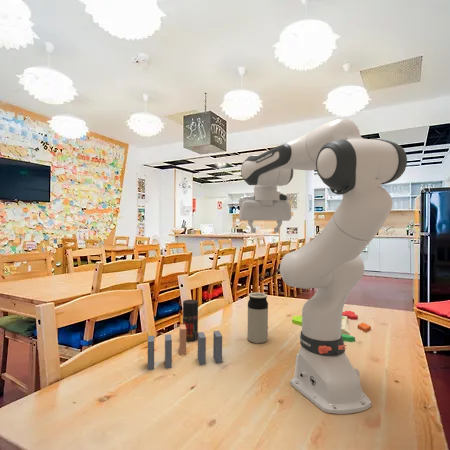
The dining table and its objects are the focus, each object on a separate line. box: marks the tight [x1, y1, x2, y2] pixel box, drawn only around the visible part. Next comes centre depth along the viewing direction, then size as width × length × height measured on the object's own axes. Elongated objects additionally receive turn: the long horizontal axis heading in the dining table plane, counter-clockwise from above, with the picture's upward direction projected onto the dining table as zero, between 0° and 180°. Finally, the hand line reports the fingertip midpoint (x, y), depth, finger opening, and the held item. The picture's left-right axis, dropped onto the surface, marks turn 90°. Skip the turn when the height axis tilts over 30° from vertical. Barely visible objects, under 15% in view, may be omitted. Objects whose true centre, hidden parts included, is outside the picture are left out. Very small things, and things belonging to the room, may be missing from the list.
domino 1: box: [147, 335, 155, 371], centre depth 100 cm, size 2×5×9 cm, turn 13°
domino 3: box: [178, 323, 187, 356], centre depth 111 cm, size 2×5×9 cm, turn 13°
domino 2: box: [164, 333, 173, 369], centre depth 101 cm, size 2×5×9 cm, turn 13°
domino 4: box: [197, 331, 207, 366], centre depth 104 cm, size 2×5×9 cm, turn 13°
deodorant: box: [182, 299, 199, 343], centre depth 123 cm, size 6×6×15 cm
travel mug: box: [246, 292, 269, 344], centre depth 123 cm, size 8×8×18 cm
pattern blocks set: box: [291, 310, 372, 343], centre depth 141 cm, size 38×34×3 cm
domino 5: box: [212, 330, 223, 364], centre depth 105 cm, size 2×5×9 cm, turn 13°
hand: (265, 232), depth 119 cm, fingers open, 8 cm apart
